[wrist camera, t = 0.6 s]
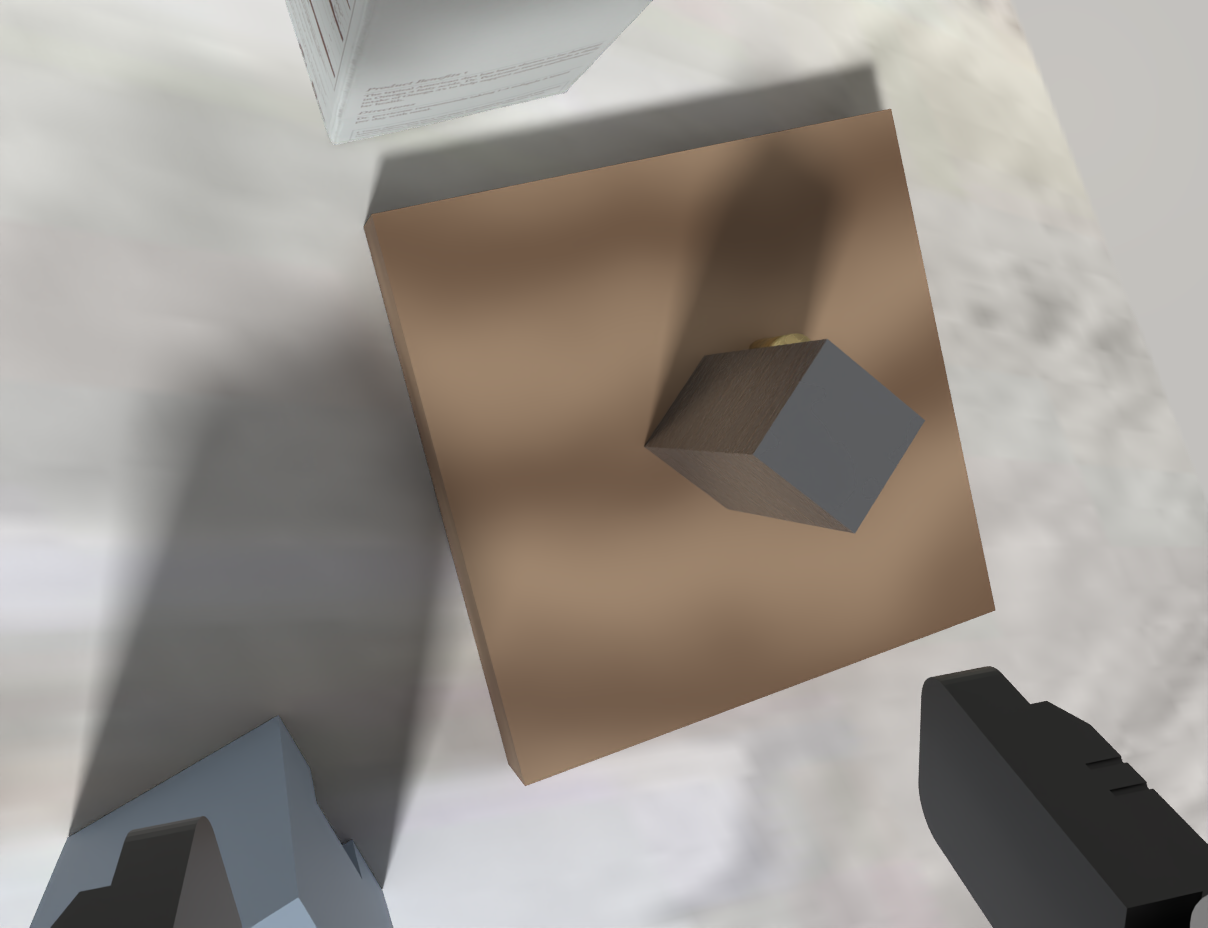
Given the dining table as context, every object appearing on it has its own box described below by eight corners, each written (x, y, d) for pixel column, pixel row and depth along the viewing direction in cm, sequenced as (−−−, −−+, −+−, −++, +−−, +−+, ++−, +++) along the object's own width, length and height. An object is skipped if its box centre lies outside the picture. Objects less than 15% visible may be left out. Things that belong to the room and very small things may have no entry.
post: (626, 374, 31) (731, 362, 24) (777, 334, 32) (917, 312, 25) (663, 529, 31) (777, 559, 25) (811, 483, 33) (956, 499, 26)
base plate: (363, 226, 30) (371, 214, 28) (855, 125, 35) (891, 108, 33) (508, 764, 32) (525, 786, 30) (956, 600, 37) (995, 610, 35)
